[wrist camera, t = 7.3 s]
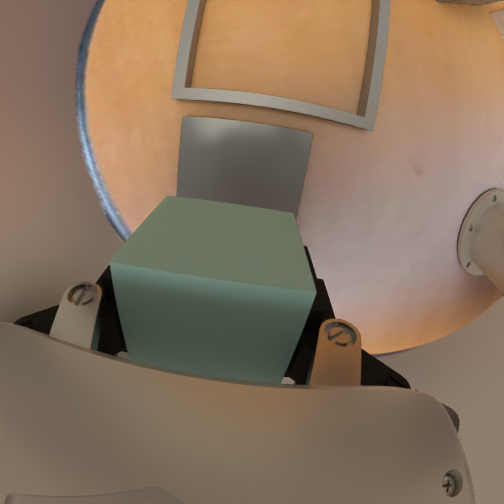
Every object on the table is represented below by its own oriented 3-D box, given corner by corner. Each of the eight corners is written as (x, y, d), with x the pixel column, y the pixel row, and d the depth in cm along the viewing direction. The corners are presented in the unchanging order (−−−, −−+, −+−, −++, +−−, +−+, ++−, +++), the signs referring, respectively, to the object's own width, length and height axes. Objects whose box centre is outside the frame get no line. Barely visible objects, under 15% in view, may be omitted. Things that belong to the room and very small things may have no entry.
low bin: (383, -16, 13) (390, -22, 12) (364, 129, 22) (372, 131, 20) (207, -48, 13) (204, -57, 11) (178, 99, 21) (171, 98, 19)
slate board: (310, 131, 22) (313, 133, 21) (287, 240, 28) (289, 247, 26) (186, 115, 22) (182, 116, 20) (179, 226, 27) (175, 232, 26)
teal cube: (293, 213, 11) (316, 292, 6) (270, 309, 13) (273, 399, 9) (167, 195, 10) (109, 261, 6) (167, 294, 13) (135, 378, 8)
